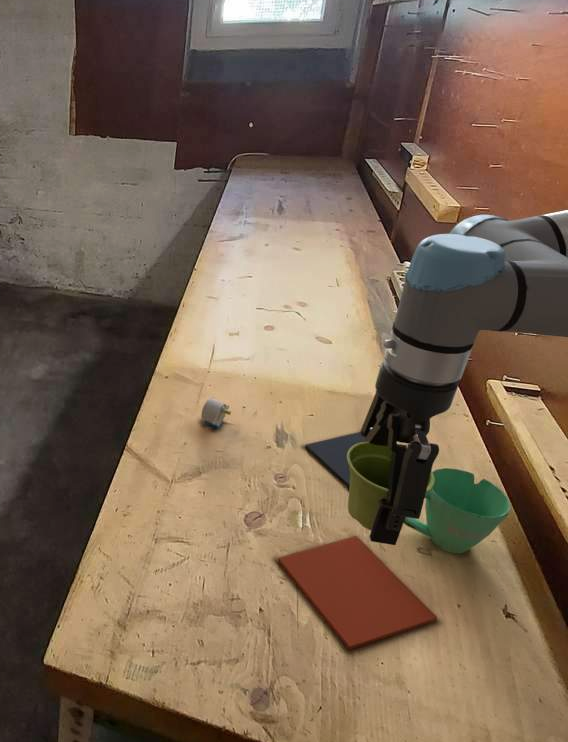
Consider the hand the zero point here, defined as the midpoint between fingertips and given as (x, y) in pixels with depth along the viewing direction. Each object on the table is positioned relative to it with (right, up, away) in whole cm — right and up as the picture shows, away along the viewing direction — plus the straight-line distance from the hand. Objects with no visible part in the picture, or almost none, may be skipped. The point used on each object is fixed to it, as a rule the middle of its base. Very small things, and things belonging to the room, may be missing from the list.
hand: (372, 514), depth 74 cm
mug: (+17, -8, +13) cm, 23 cm away
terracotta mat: (0, -13, +5) cm, 14 cm away
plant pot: (0, 0, 0) cm, 1 cm away
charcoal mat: (+15, -1, +27) cm, 31 cm away
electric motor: (-8, +3, +39) cm, 40 cm away
